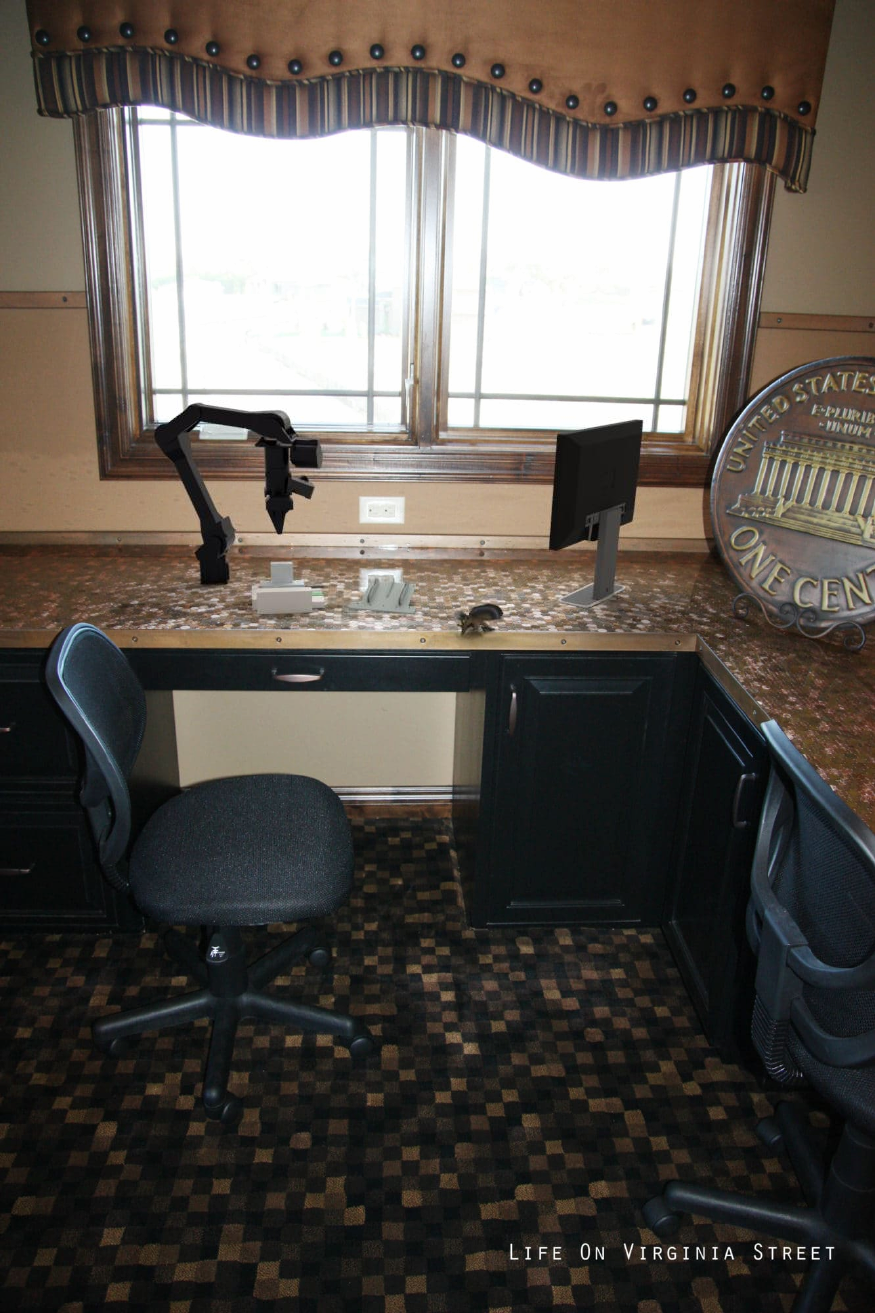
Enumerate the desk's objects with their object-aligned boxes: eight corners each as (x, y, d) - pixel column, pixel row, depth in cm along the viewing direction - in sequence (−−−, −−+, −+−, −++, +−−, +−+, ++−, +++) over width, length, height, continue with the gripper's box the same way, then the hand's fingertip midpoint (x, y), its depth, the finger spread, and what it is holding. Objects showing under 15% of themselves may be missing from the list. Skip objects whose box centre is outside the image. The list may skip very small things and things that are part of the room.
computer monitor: (612, 574, 240) (628, 418, 226) (642, 580, 236) (660, 421, 221) (535, 611, 209) (547, 432, 194) (568, 619, 204) (583, 436, 190)
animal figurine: (478, 638, 187) (510, 622, 192) (463, 606, 187) (494, 591, 192) (460, 647, 194) (491, 631, 199) (445, 617, 194) (476, 602, 199)
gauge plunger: (261, 598, 210) (259, 566, 208) (260, 593, 214) (259, 562, 211) (324, 596, 213) (323, 565, 210) (323, 591, 217) (322, 560, 214)
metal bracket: (362, 571, 216) (425, 576, 213) (364, 592, 219) (426, 597, 217) (346, 605, 205) (412, 610, 202) (349, 626, 208) (413, 632, 206)
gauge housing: (252, 614, 201) (251, 592, 199) (252, 595, 214) (251, 575, 212) (325, 611, 204) (325, 590, 202) (320, 593, 217) (320, 573, 215)
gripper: (314, 473, 205) (316, 541, 211) (309, 460, 222) (310, 523, 228) (264, 473, 203) (267, 542, 209) (262, 460, 220) (265, 524, 226)
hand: (279, 532), depth 218 cm, fingers open, 3 cm apart
